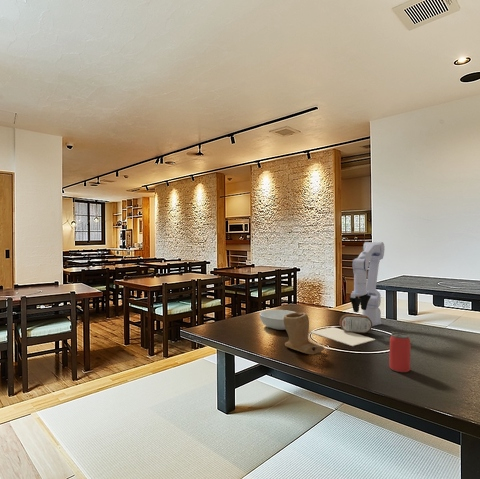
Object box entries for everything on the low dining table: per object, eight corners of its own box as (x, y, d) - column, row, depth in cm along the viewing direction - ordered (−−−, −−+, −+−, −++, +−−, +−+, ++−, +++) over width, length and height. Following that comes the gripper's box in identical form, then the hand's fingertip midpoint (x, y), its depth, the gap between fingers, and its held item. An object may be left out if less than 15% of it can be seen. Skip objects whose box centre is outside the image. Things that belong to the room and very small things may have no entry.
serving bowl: (267, 334, 159) (267, 320, 158) (254, 323, 179) (254, 310, 179) (308, 331, 164) (308, 317, 164) (290, 321, 184) (290, 308, 184)
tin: (370, 332, 163) (371, 315, 164) (372, 334, 160) (373, 316, 160) (338, 330, 165) (339, 312, 165) (340, 331, 162) (340, 314, 162)
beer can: (385, 366, 121) (386, 332, 121) (403, 365, 121) (403, 332, 121) (395, 373, 114) (396, 337, 114) (414, 373, 115) (414, 337, 115)
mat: (332, 327, 171) (332, 327, 171) (375, 340, 152) (375, 339, 152) (310, 332, 162) (310, 331, 162) (352, 346, 143) (352, 345, 143)
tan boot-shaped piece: (277, 347, 140) (277, 311, 140) (298, 343, 146) (299, 308, 146) (302, 359, 127) (303, 319, 127) (325, 353, 134) (325, 315, 133)
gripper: (359, 280, 174) (359, 307, 174) (345, 283, 164) (344, 311, 164) (373, 282, 169) (372, 309, 169) (358, 285, 159) (358, 314, 159)
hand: (359, 310), depth 166 cm, fingers open, 7 cm apart
